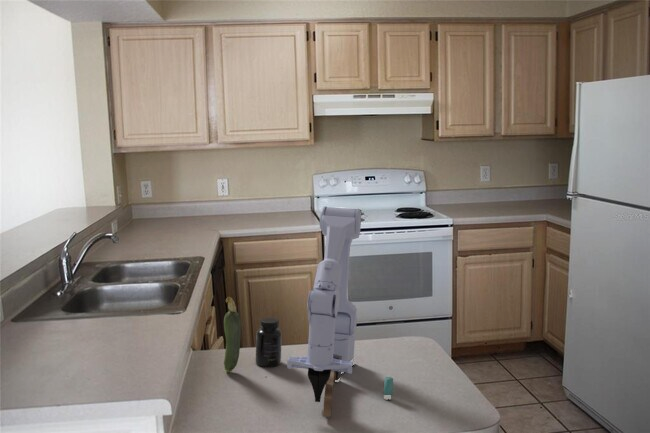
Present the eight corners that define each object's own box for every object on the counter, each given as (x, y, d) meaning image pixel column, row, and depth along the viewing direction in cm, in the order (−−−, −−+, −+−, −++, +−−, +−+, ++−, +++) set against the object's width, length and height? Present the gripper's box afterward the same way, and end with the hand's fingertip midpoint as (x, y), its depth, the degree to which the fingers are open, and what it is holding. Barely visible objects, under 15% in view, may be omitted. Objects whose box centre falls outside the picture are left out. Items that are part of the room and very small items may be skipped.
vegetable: (240, 370, 151) (243, 294, 148) (238, 376, 147) (241, 299, 144) (223, 369, 151) (225, 294, 148) (220, 376, 147) (223, 298, 144)
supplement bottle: (252, 359, 159) (254, 316, 157) (276, 357, 161) (278, 315, 159) (258, 369, 152) (260, 324, 151) (283, 367, 155) (285, 323, 153)
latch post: (385, 396, 140) (386, 376, 140) (393, 398, 139) (394, 378, 139) (381, 399, 139) (383, 379, 138) (389, 401, 138) (391, 381, 137)
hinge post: (331, 378, 149) (333, 354, 148) (340, 380, 148) (341, 356, 147) (329, 380, 148) (330, 356, 147) (337, 383, 146) (338, 358, 146)
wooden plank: (326, 378, 147) (327, 357, 146) (335, 379, 147) (336, 358, 146) (321, 417, 126) (322, 393, 126) (332, 418, 126) (333, 394, 125)
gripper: (286, 345, 127) (283, 405, 128) (353, 351, 126) (349, 411, 127) (290, 335, 134) (287, 391, 135) (354, 340, 133) (350, 396, 134)
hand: (317, 400), depth 132 cm, fingers closed
